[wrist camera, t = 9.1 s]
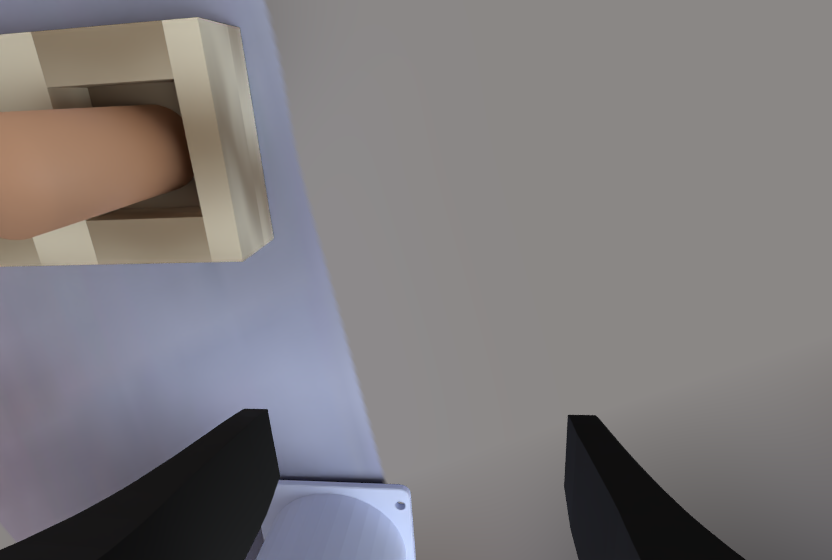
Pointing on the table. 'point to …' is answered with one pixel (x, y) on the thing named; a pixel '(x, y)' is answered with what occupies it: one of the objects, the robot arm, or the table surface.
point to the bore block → (157, 85)
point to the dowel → (85, 163)
